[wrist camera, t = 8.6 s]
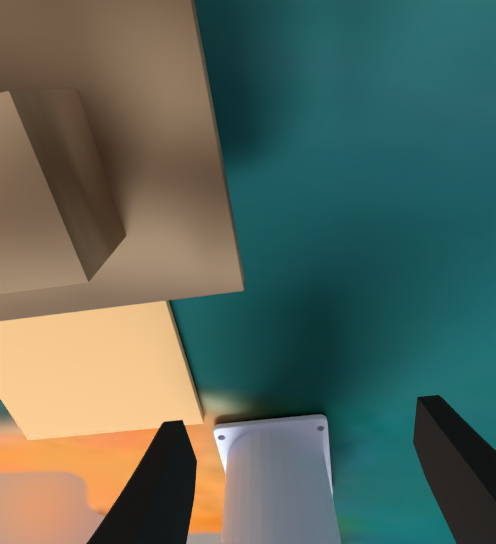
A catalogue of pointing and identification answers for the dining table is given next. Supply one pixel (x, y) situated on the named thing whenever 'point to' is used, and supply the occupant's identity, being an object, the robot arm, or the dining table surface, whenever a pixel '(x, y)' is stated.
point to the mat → (96, 372)
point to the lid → (109, 159)
